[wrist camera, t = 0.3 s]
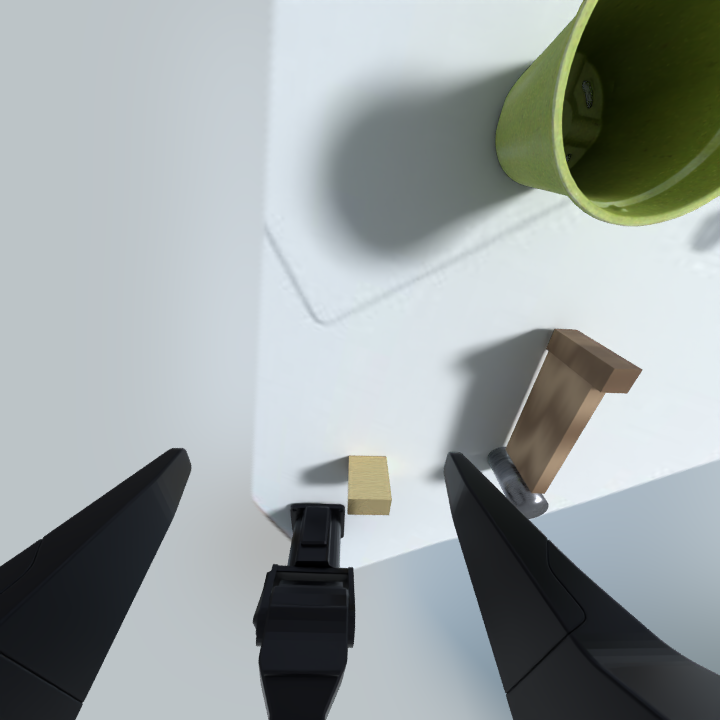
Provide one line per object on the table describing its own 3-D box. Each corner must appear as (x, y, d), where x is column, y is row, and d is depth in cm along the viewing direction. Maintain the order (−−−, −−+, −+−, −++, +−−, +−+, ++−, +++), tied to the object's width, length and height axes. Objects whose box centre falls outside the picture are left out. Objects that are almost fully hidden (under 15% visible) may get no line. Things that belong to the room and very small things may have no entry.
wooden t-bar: (519, 449, 30) (554, 504, 24) (502, 449, 29) (534, 503, 24) (576, 329, 23) (642, 369, 18) (554, 328, 23) (614, 368, 18)
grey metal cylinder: (510, 466, 32) (541, 519, 27) (484, 465, 32) (509, 518, 27) (519, 447, 31) (553, 499, 25) (492, 446, 30) (520, 498, 25)
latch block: (384, 471, 32) (388, 514, 28) (348, 470, 32) (347, 514, 27) (386, 456, 31) (391, 499, 26) (349, 455, 31) (348, 498, 26)
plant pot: (605, -53, 14) (915, -355, 6) (650, 139, 17) (878, 97, 10) (437, 109, 16) (508, 39, 9) (507, 244, 20) (599, 273, 13)
